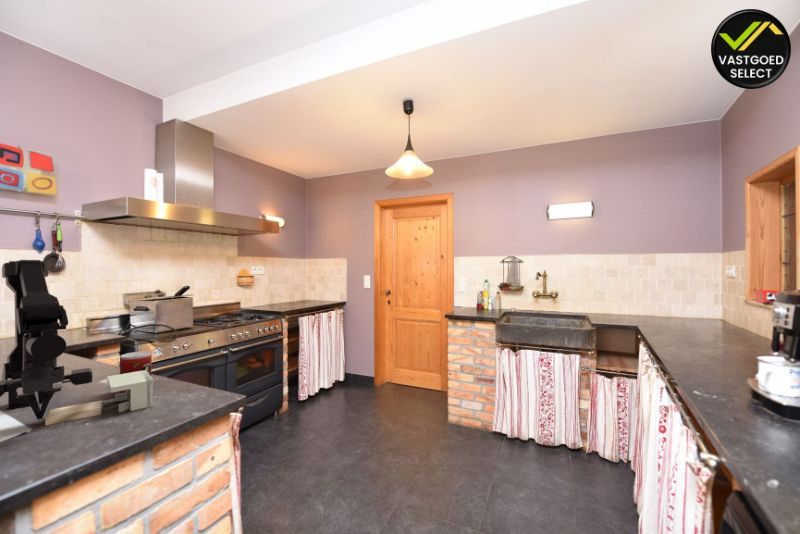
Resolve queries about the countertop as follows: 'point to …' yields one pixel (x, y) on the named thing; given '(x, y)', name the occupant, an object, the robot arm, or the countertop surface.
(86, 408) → the panel
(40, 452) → the countertop surface
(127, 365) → the canned food
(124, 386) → the pale green angular bracket
